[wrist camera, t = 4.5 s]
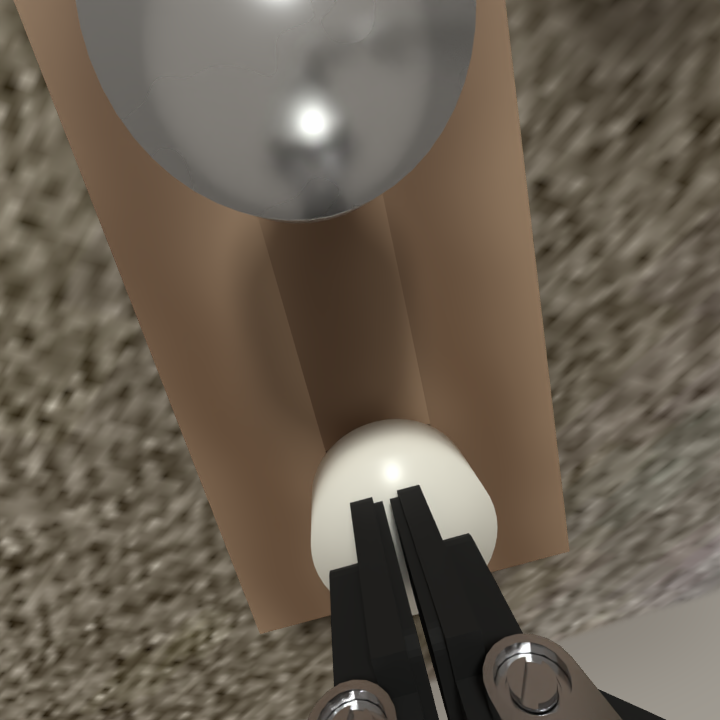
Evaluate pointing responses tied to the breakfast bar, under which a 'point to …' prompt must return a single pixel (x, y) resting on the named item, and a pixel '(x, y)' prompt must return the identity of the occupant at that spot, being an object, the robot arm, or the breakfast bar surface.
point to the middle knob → (283, 93)
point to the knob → (395, 491)
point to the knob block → (333, 318)
